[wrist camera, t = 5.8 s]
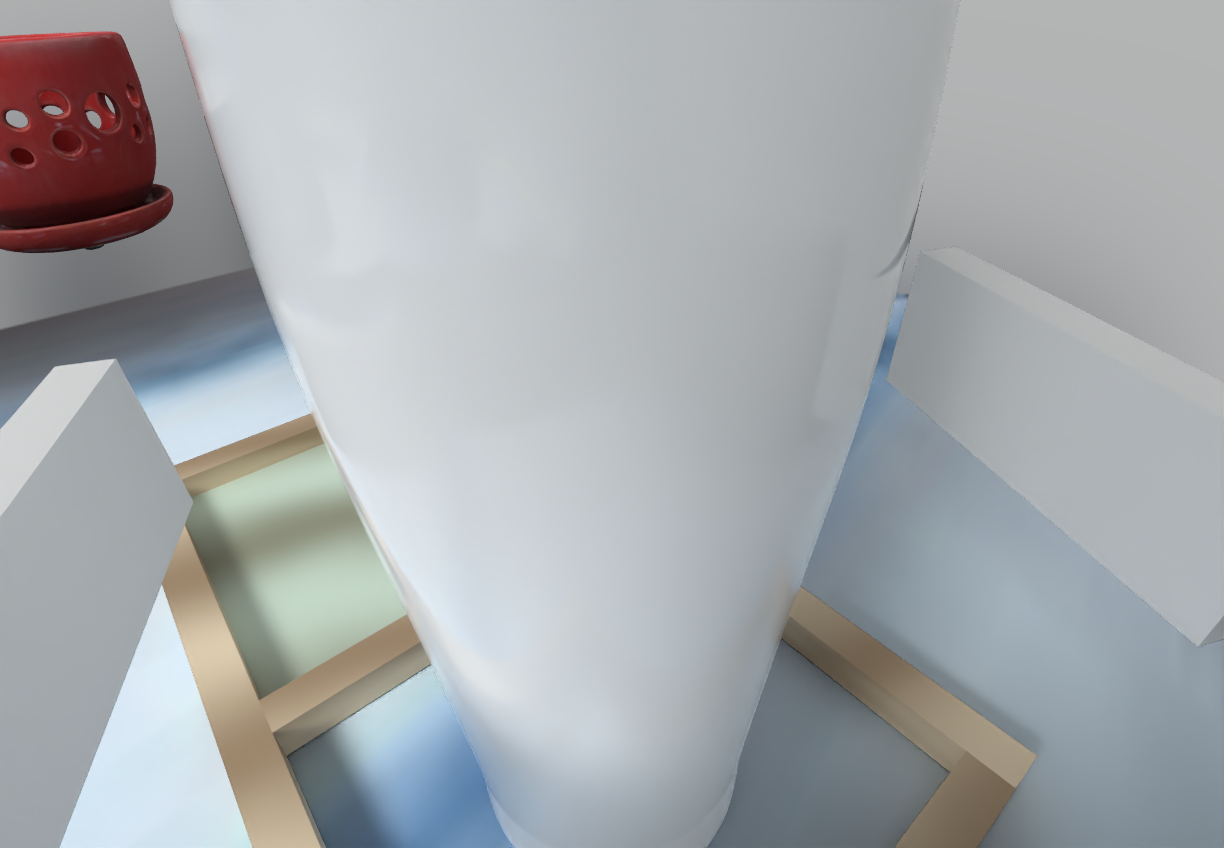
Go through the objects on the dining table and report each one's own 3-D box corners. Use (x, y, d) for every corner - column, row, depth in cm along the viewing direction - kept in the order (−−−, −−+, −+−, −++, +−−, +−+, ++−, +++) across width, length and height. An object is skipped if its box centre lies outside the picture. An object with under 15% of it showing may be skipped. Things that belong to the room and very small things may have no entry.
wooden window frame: (141, 505, 22) (127, 483, 21) (476, 371, 28) (473, 351, 28) (512, 1551, 7) (501, 1569, 7) (1020, 779, 14) (1037, 755, 13)
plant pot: (228, 221, 47) (155, 26, 40) (10, 283, 38) (-131, 49, 31) (146, 193, 53) (71, 21, 46) (-56, 241, 45) (-185, 39, 38)
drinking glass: (457, 662, 17) (256, -71, 8) (710, 616, 18) (779, -82, 9) (457, 998, 11) (-178, -145, 2) (822, 906, 12) (1286, -152, 3)
